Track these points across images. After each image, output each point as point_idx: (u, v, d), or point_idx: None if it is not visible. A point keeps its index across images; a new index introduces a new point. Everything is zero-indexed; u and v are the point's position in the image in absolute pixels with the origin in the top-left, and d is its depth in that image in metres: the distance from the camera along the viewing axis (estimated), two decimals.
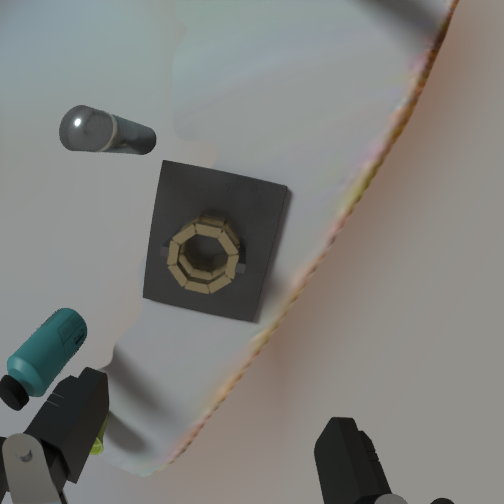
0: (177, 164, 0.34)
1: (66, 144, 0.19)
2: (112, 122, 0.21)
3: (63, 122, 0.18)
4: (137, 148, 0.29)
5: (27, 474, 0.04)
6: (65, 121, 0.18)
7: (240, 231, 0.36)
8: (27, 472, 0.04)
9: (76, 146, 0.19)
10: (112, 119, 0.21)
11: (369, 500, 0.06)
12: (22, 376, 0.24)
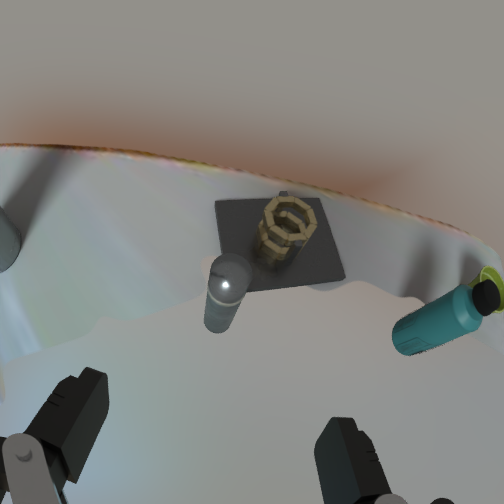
0: None
1: (248, 278, 0.26)
2: None
3: (230, 289, 0.25)
4: None
5: (27, 474, 0.04)
6: (228, 287, 0.25)
7: (260, 220, 0.47)
8: (27, 472, 0.04)
9: (247, 267, 0.26)
10: None
11: (369, 500, 0.06)
12: (467, 301, 0.28)
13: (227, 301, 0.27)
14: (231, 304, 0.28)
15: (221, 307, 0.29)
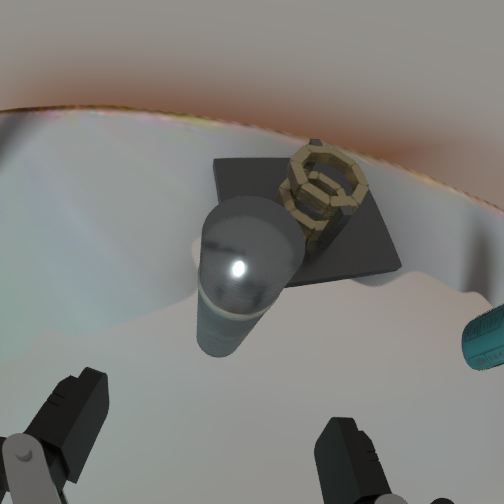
0: None
1: (297, 253, 0.10)
2: None
3: (253, 279, 0.10)
4: None
5: (27, 474, 0.04)
6: (249, 274, 0.10)
7: (279, 185, 0.31)
8: (27, 472, 0.04)
9: (292, 226, 0.11)
10: None
11: (369, 500, 0.06)
12: None
13: (242, 310, 0.12)
14: (251, 315, 0.12)
15: (228, 322, 0.13)
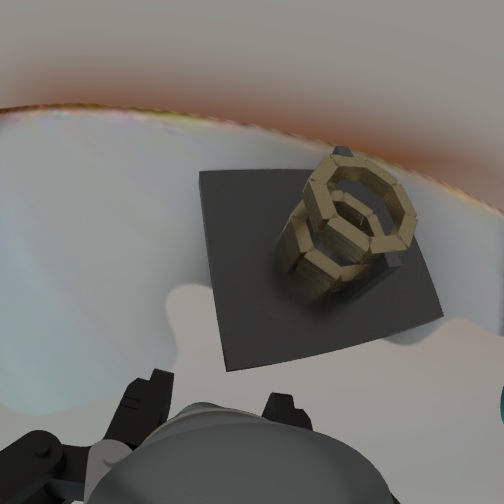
0: (226, 339, 0.17)
1: None
2: (164, 426, 0.05)
3: None
4: None
5: None
6: None
7: (289, 209, 0.23)
8: None
9: (367, 503, 0.02)
10: None
11: None
12: None
13: None
14: None
15: None
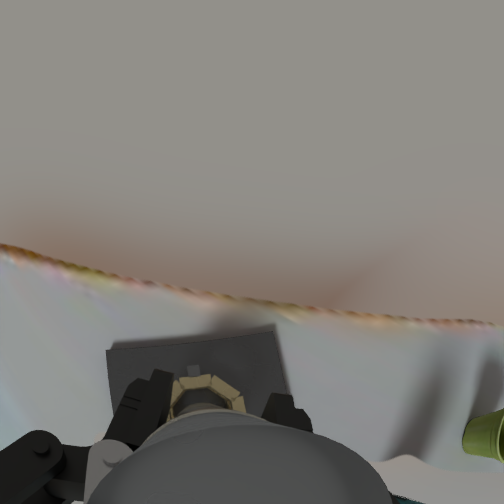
0: None
1: None
2: (164, 428, 0.05)
3: None
4: None
5: None
6: None
7: None
8: None
9: None
10: None
11: None
12: None
13: None
14: None
15: None
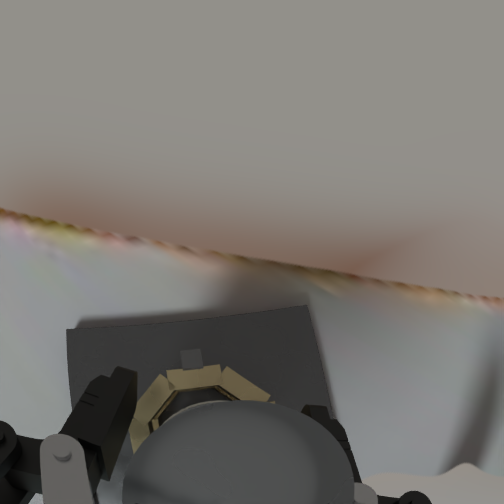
0: None
1: None
2: (176, 415, 0.06)
3: None
4: None
5: (69, 475, 0.04)
6: None
7: None
8: (64, 472, 0.04)
9: (331, 465, 0.04)
10: None
11: None
12: None
13: None
14: None
15: None
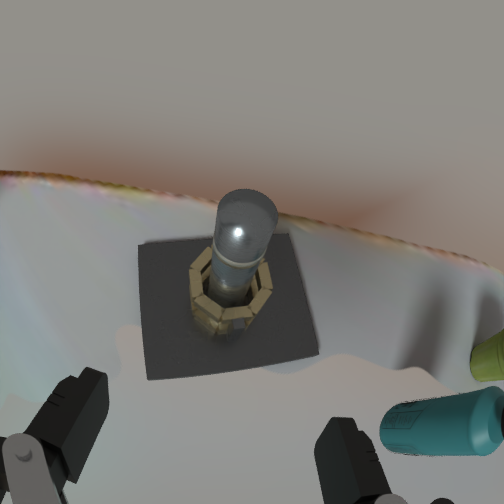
0: (146, 361, 0.27)
1: (273, 221, 0.18)
2: None
3: (246, 234, 0.17)
4: None
5: (27, 474, 0.04)
6: (244, 231, 0.17)
7: None
8: (27, 472, 0.04)
9: (270, 206, 0.18)
10: None
11: (369, 500, 0.06)
12: (492, 420, 0.14)
13: (241, 258, 0.19)
14: (246, 264, 0.20)
15: (232, 271, 0.21)
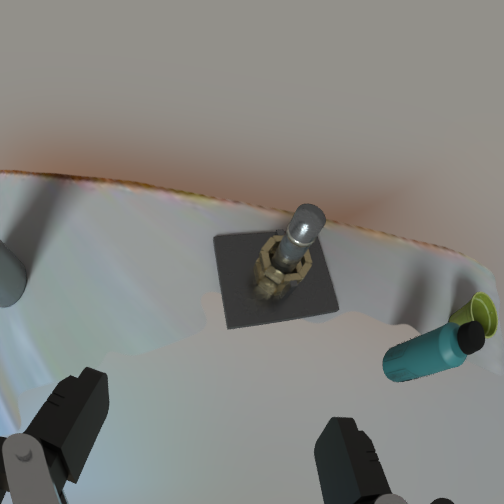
0: (227, 315, 0.43)
1: (323, 221, 0.34)
2: None
3: (312, 227, 0.33)
4: None
5: (27, 474, 0.04)
6: (310, 226, 0.33)
7: (257, 255, 0.48)
8: (27, 472, 0.04)
9: (321, 213, 0.34)
10: None
11: (369, 500, 0.06)
12: (452, 340, 0.30)
13: (305, 241, 0.35)
14: (307, 244, 0.36)
15: (297, 249, 0.37)
